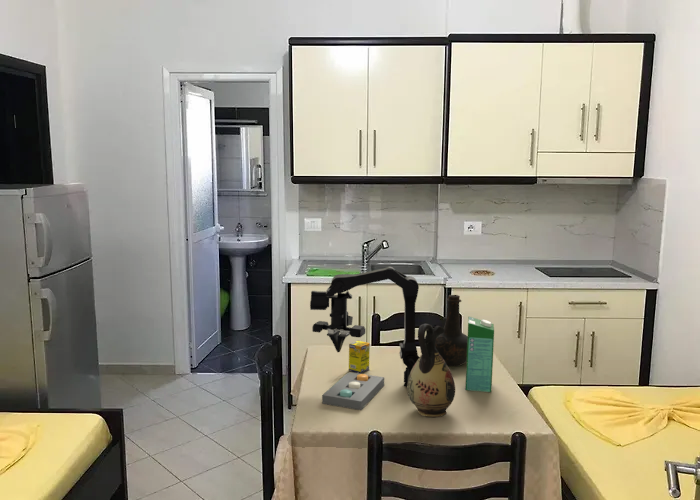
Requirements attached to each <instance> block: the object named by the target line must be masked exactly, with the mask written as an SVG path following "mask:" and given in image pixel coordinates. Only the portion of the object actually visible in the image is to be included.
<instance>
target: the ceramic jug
mask: <svg viewBox="0 0 700 500" xmlns="http://www.w3.org/2000/svg"><path fill="white" fill-rule="evenodd" d="M443 332H444V327H443V326H440V325H436V326H435V327H433V326H432V324H429V323H423V324H421V325H419V327H418V330H417V339H418V341H417V342H418V344H419V345H418V346H419V348H420V353H421V355H420V356H419V359H418V360H417V362H416V363H415V365H414V366H413V368H412V370H411V373H410V375H409V379H408V385H407V386H406V387H407V388H406V389H407V390H406V391H407V396H408V398H409V400H410V401H411V403H412V404H413V406H414V407H416V410H417V412H418V413H419V415H421V416H422V417H430V418H433V417H434V418H435V417H436V418H438V417H442V416H445V415H447V410H448V408H449V407H450V406H451V404H452V403H453V401H454V398H455V397H456V385H455V380H454V376H453V373H452V371H451V370H450V366H448V365H447V364H446V362H445V361H444V359H443V358H442V357H441V355H440V354H439V353H438V350H437V349H436V346H435V343H436V339H437V337H438V336H439V335H441V334H442V333H443Z"/></svg>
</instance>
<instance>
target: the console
mask: <svg viewBox="0 0 700 500" xmlns="http://www.w3.org/2000/svg"><path fill="white" fill-rule="evenodd" d="M359 374H360V373H356V372H352V371H347V373H346V374H345V375H344V376H342V377H341V378H340V379H339V380H338V381H337V382H335V383H334V384H333V385H332V386H331V387H329V389H328V390H326V391H325V392H324V393H322V395H321V403H322V404H323V405H329V406H334V407H341V408H346V409H351V410H357V411H362V410H363V409H364V408H365V406H367V405H368V404H369V402H370V401H371V400H372V399H373V398H374V397H375V396H376V395H377V394H378V393H379V391H380V390H381V389H382V388H384V386H385V376H378V375H371V374H365V373H364V374H365V375H368V381H360V380H357V375H359ZM350 382H359V383H360V389H354V388H349V383H350ZM344 389H347V390H351V391H352V396H351V397H350V398H349V397H343V396H340V391H341V390H344Z"/></svg>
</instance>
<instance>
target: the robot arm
mask: <svg viewBox="0 0 700 500" xmlns="http://www.w3.org/2000/svg"><path fill="white" fill-rule="evenodd" d="M386 280H389V281H391V282H392V283H394V284H395V285H397V286H398V287H399V288H400V289H401V292H402V297H403V301H404V338H403V339H404V340H403V343H402V342H399V353H398V354H399V356H400V359H401V360H402V363H403V365H404V366H405V370H404V372H403V386H404V387H407V385H408V379H409V375H410V373H411V370H412V368H413V366H414V365H415V363H416V362H417V360H418V359H419V357H420V356H419V354H418V349H417V344H416V343H417V342H416V303H417V298H418V294H419V287H420V285H419V283H418V281H417V279H416V278H415V277H413V276H412V275H411V276H410V275H405V274H404V273H402V272H400V271H399V270H397V269H395V268H394V267H393V266H386V267H385V268H379V269H374V270H369V271H365V272H361V273H356V274H353V273H352V274H351V273H350V274H349V273H343V274H336V275H334V276H333V277H332V279H331V281H330V282H331V283H330V285H329V287H327V289H326V291H321V290H320V291H318V290H311V291H310V302H309V307H310V308H309V309H310V311H327V309H328V308H330V313H329V317H330V324H329V322H328V321H322V320H318V321H317V322H314V323H313V324H312V330H311V331H312V332H313V333H321V332H322V331H323V330H324V331H327V334H326V336H327V337H329V339H330V341H331V342H332V343H333V346H334V348H335V351H336V352H337V353H341V351H342V348H343V344H344V342H345V339H346V338H347V337H349V336H351V337H352V338H353V337H354V338H361V337H363V336H364V335H365V334H366V328H365V326H364V325H357V324H355V325H354V326H353V319H354V318H353V317H354V316H351V315H349V311H348V299H349V300H351V299H353V295H352V294H351V293H350V292H349V291H350V290H351V289H353V288H356V287H358V286H362V285H366V284H367V285H368V284H372V283H376V282H381V281H386ZM350 326H352V327H350Z"/></svg>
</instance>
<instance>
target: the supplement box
mask: <svg viewBox="0 0 700 500" xmlns="http://www.w3.org/2000/svg"><path fill="white" fill-rule="evenodd" d="M370 345H371V344H370V342H367V341H362V340H356V341H354V342H350V343H348V372H352V373H359V374H364V373H365V372H367V371H369V370H370Z"/></svg>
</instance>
